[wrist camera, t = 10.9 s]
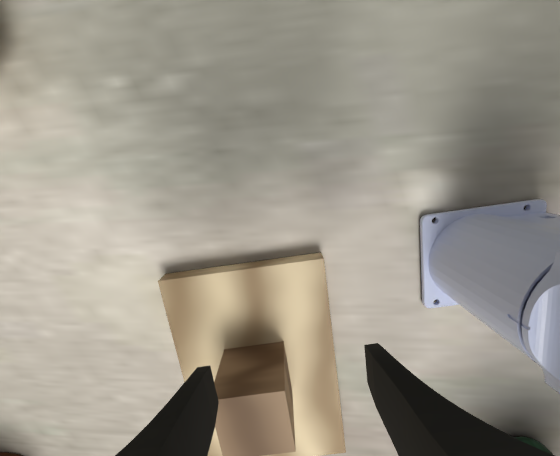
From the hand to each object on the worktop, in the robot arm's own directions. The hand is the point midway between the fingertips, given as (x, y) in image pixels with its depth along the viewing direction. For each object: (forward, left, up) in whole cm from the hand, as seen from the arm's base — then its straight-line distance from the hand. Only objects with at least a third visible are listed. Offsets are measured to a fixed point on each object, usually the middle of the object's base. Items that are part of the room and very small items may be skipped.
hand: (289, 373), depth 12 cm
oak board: (+3, +8, -10) cm, 13 cm away
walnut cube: (+3, +7, -9) cm, 12 cm away
